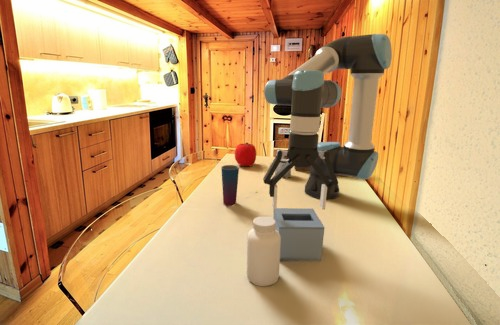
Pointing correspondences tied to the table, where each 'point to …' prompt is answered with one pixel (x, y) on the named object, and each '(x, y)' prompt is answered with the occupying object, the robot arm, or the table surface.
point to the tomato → (245, 154)
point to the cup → (229, 184)
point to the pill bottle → (263, 252)
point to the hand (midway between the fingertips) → (298, 207)
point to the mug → (281, 164)
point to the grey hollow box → (299, 234)
